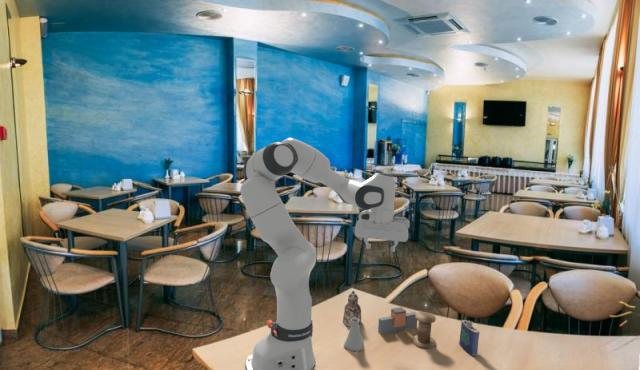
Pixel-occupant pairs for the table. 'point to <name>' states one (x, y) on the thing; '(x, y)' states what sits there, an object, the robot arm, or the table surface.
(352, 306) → the figurine
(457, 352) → the table surface
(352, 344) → the flask
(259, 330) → the table surface
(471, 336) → the flask
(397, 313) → the block
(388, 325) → the bracket
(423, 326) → the brown spool-shaped piece
